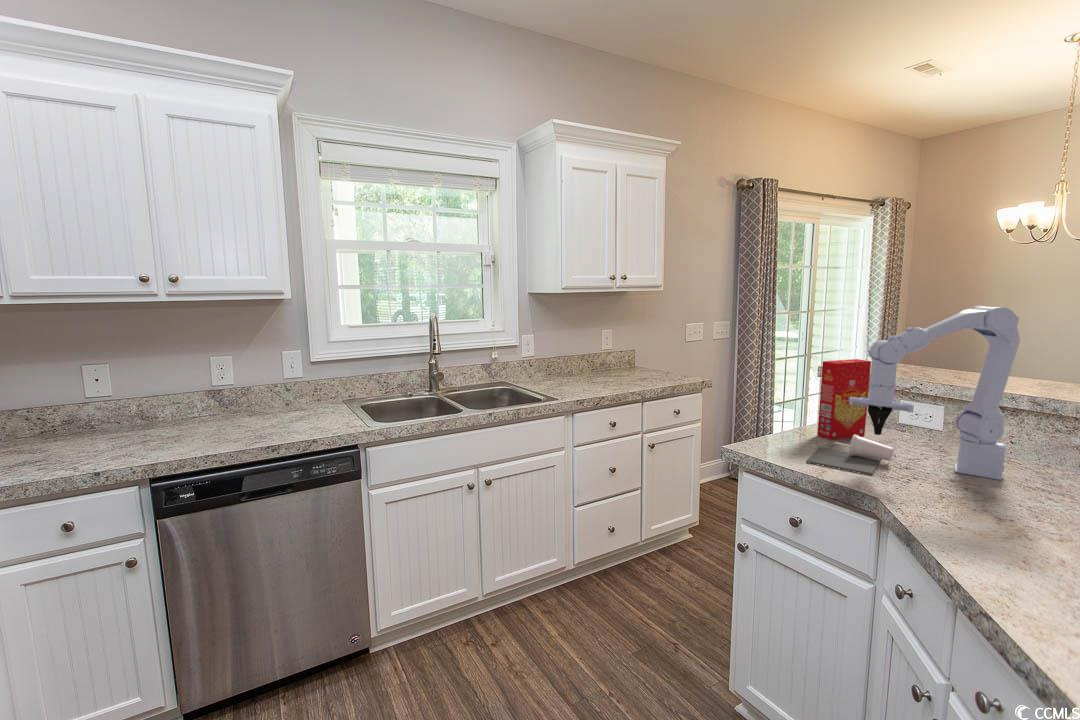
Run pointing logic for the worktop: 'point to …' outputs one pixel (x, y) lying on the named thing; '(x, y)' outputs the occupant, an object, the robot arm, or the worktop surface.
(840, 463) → the mat
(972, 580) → the worktop surface
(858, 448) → the smoothie
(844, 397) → the food packaging
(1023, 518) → the worktop surface
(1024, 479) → the worktop surface
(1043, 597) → the worktop surface
